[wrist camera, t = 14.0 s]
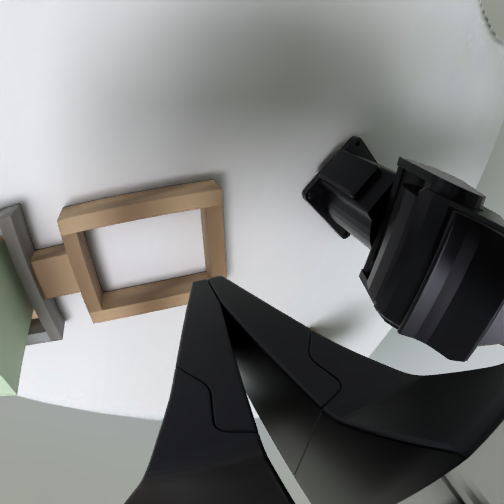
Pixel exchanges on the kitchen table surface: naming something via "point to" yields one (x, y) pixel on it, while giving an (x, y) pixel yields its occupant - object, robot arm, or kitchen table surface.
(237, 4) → the kitchen table surface
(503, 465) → the robot arm
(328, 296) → the kitchen table surface
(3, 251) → the sage peg
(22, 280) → the joined double square frame
